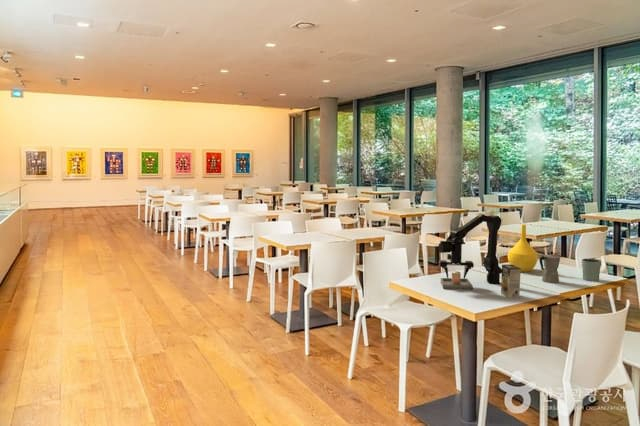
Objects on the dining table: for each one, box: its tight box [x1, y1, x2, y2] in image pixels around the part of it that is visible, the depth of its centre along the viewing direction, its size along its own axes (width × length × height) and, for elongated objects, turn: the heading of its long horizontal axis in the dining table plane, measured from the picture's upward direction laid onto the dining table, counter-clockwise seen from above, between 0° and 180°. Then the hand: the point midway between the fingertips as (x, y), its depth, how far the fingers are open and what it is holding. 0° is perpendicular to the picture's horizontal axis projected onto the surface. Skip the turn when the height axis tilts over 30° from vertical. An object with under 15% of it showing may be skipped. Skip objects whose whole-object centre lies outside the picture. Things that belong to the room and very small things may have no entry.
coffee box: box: [500, 263, 522, 299], centre depth 264 cm, size 9×6×16 cm
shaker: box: [451, 270, 462, 285], centre depth 285 cm, size 5×5×7 cm
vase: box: [507, 224, 539, 273], centre depth 322 cm, size 18×18×30 cm
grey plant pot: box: [581, 258, 602, 282], centre depth 296 cm, size 10×10×12 cm
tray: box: [440, 277, 473, 291], centre depth 286 cm, size 16×16×2 cm
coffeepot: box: [538, 250, 562, 284], centre depth 293 cm, size 15×9×18 cm, turn 110°
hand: (455, 278), depth 285 cm, fingers open, 9 cm apart
